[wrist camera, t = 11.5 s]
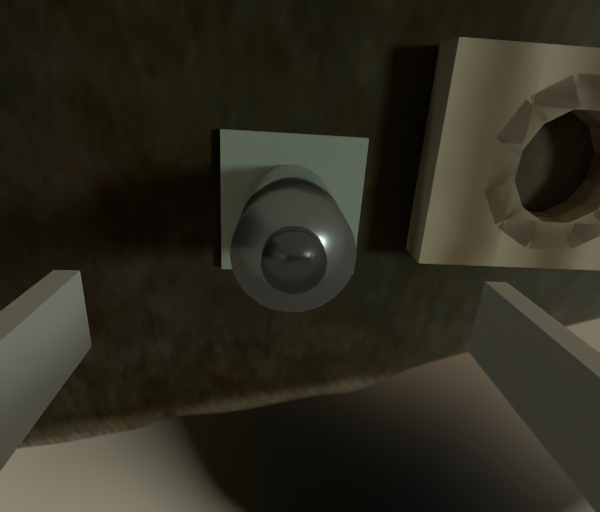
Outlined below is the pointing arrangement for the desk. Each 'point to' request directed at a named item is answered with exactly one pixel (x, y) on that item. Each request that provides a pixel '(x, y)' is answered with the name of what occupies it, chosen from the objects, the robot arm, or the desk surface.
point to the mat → (281, 151)
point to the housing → (503, 157)
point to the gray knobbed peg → (292, 242)
